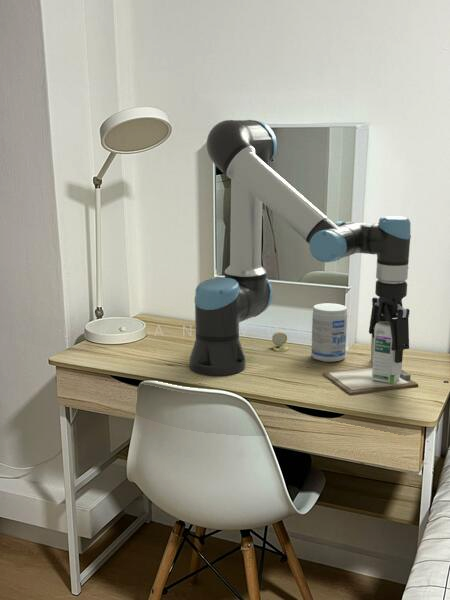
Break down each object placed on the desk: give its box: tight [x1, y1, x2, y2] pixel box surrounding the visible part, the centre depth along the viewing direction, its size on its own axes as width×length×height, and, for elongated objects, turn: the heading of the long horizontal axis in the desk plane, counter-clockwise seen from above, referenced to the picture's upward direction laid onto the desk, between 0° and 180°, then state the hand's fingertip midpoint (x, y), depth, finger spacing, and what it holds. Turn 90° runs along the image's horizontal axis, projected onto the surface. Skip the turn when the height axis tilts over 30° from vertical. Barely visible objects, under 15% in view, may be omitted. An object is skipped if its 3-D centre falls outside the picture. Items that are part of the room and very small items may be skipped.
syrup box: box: [372, 321, 400, 384], centre depth 175 cm, size 6×6×14 cm
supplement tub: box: [310, 302, 348, 363], centre depth 196 cm, size 10×10×15 cm
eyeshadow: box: [271, 331, 289, 353], centre depth 204 cm, size 4×5×5 cm
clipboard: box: [322, 366, 419, 396], centre depth 179 cm, size 15×19×2 cm
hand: (386, 368), depth 177 cm, fingers closed on syrup box, 8 cm apart
